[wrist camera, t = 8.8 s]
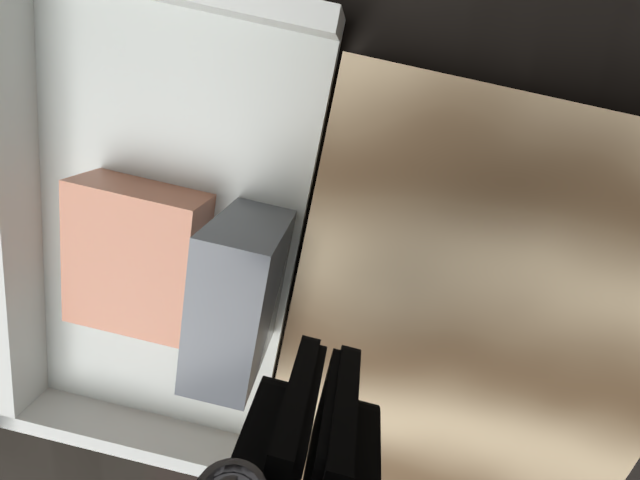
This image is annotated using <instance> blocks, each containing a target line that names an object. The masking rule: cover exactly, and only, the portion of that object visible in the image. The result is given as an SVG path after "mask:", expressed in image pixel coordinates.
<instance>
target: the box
mask: <svg viewBox="0 0 640 480" xmlns="http://www.w3.org/2000/svg"><path fill="white" fill-rule="evenodd" d="M345 21H346V19H345V16H344V12H343V9H342V5H341V4H338V3H333V2H328V1H324V0H0V427H1V428H5V429H9V430H13V431H17V432H21V433H25V434H29V435H33V436H37V437H41V438H45V439H49V440H53V441H57V442H61V443H65V444H69V445H73V446H77V447H81V448H85V449H89V450H93V451H97V452H101V453H105V454H109V455H113V456H117V457H121V458H125V459H129V460H133V461H137V462H141V463H145V464H149V465H153V466H157V467H161V468H165V469H169V470H173V471H177V472H181V473H185V474H189V475H193V476H197V477H199V476H200V475H201V473H202V472H203V471H204V470H205V469H206V468H207V467H208V466H210V465H211V464H213V463H215V462H216V461H219V460H223V459H226V458H231V455H232V453H233V450H234V447H235V445H236V442H237V440H238V437H239V435H240V432H241V430H242V427H243V424H244V422H245V419H246V417H247V414H248V412H249V409H250V407H251V404H252V401H253V399H254V396H255V394H256V391H257V389H258V386H259V384H260V381H261V379H262V377H263V376H267V377H271V378H273V374H274V370H275V365H276V360H277V355H278V350H279V345H280V340H281V335H282V330H283V325H284V321H285V316H286V311H287V306H288V301H289V296H290V291H291V286H292V281H293V276H294V271H295V267H296V262H297V257H298V252H299V247H300V242H301V237H302V232H303V227H304V222H305V218H306V213H307V208H308V203H309V198H310V193H311V188H312V183H313V178H314V173H315V169H316V164H317V159H318V154H319V149H320V144H321V139H322V134H323V129H324V124H325V119H326V115H327V110H328V105H329V100H330V95H331V90H332V85H333V80H334V75H335V70H336V66H337V61H338V56H339V51H340V46H341V41H342V36H343V31H344V26H345ZM98 168H104V169H108V170H113V171H117V172H121V173H126V174H130V175H134V176H139V177H143V178H147V179H152V180H156V181H160V182H165V183H169V184H173V185H178V186H182V187H186V188H191V189H195V190H199V191H204V192H208V193H212V194H217V196H216V204H215V212H214V217H215V216H216V215H217V214H219V213H220V212H221V211H222V210H223V209H225V208H226V207H227V206H228V205H229V204H231V203H232V202H233V201H234V200H235V199H237V198H238V197H240V198H244V199H249V200H253V201H257V202H262V203H266V204H270V205H275V206H279V207H283V208H288V209H292V210H296V211H297V214H296V220H295V225H294V230H293V235H292V240H291V245H290V250H289V256H288V261H287V266H286V271H285V276H284V281H283V286H282V292H281V297H280V302H279V307H278V312H277V317H276V322H275V328H274V333H273V335H272V338H271V341H270V343H269V346H268V348H267V351H266V354H265V356H264V359H263V362H262V364H261V367H260V370H259V372H258V375H257V377H256V380H255V383H254V385H253V388H252V391H251V393H250V396H249V398H248V401H247V404H246V406H245V409H244V412H243V411H239V410H235V409H231V408H227V407H223V406H219V405H215V404H211V403H207V402H203V401H198V400H194V399H190V398H186V397H182V396H178V395H174V393H175V383H176V373H177V362H178V352H179V349H177V348H173V347H169V346H165V345H160V344H156V343H152V342H148V341H144V340H140V339H136V338H131V337H127V336H123V335H119V334H115V333H111V332H106V331H102V330H98V329H94V328H90V327H86V326H82V325H77V324H73V323H69V322H65V321H62V305H61V260H60V216H59V180H60V179H64V178H67V177H71V176H74V175H77V174H81V173H84V172H88V171H91V170H94V169H98Z"/></svg>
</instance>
